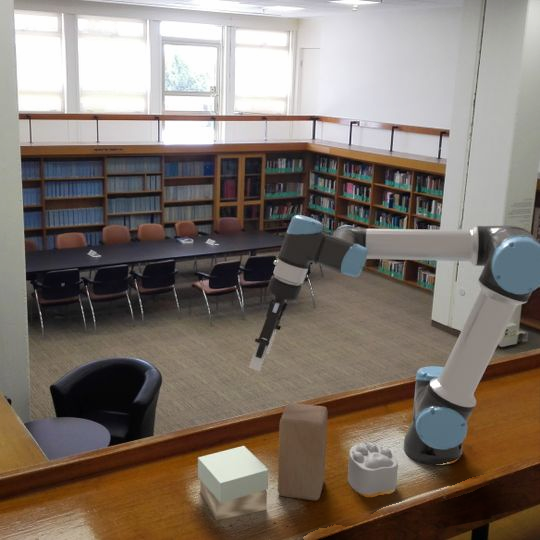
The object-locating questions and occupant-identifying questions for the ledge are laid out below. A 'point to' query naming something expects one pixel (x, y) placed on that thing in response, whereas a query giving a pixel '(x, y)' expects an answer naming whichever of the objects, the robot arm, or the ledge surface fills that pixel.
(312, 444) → the block
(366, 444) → the lumpy-topped squat cylinder
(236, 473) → the tower top
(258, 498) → the tower bottom
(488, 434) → the ledge surface
